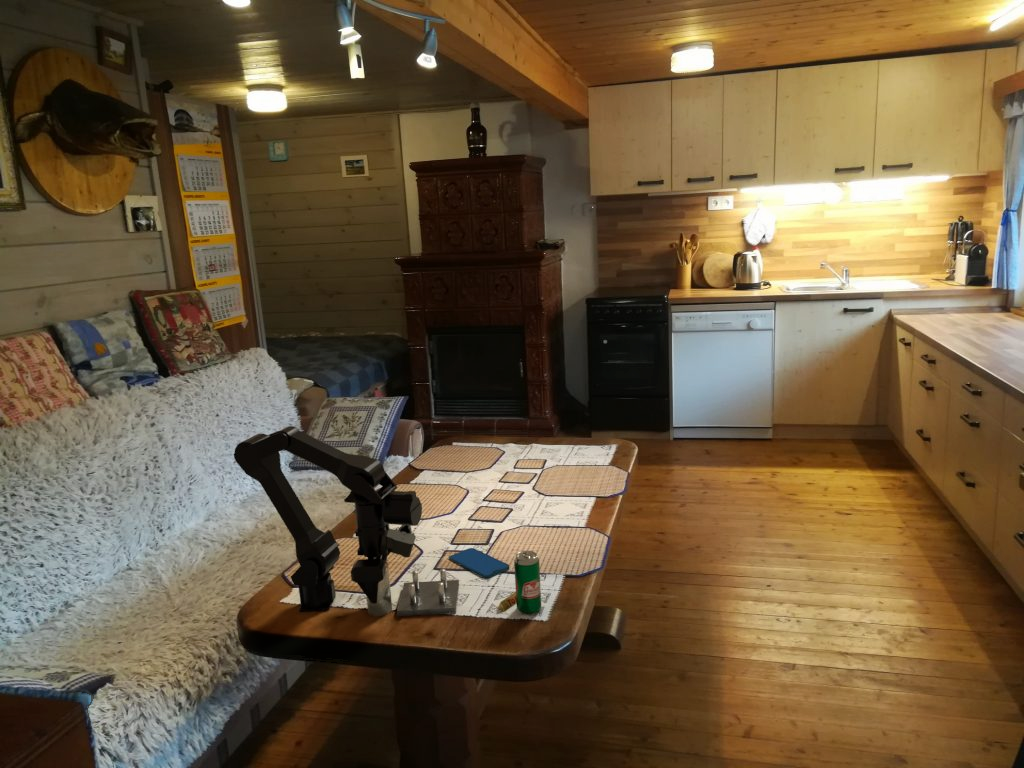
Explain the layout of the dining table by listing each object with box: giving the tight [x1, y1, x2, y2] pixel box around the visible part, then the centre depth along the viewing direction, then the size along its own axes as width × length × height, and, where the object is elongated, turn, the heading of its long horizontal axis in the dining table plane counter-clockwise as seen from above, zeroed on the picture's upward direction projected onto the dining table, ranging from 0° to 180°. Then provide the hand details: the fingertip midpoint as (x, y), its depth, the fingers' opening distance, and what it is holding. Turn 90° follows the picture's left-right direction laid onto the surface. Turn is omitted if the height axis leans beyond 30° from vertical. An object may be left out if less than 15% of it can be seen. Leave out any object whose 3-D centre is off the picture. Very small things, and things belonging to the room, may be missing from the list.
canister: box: [365, 561, 393, 617], centre depth 158 cm, size 5×5×10 cm
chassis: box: [396, 568, 460, 617], centre depth 161 cm, size 12×12×5 cm
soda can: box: [513, 550, 542, 615], centre depth 154 cm, size 5×5×12 cm
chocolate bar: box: [496, 591, 517, 612], centre depth 161 cm, size 3×12×2 cm, turn 142°
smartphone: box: [448, 547, 510, 579], centre depth 177 cm, size 7×1×15 cm
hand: (377, 591), depth 158 cm, fingers open, 9 cm apart
